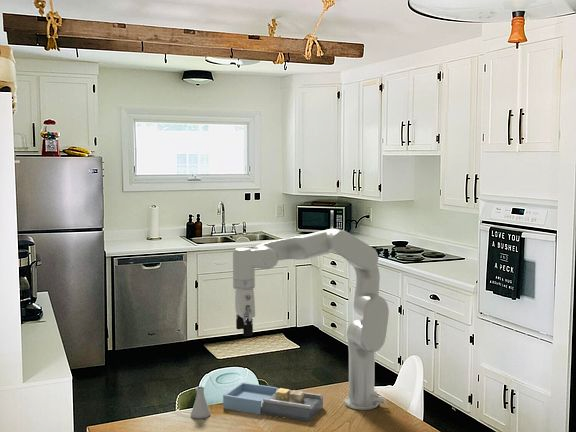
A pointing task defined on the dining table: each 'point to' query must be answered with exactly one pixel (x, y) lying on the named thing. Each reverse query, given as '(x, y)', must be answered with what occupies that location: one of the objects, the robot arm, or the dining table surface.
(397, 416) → the dining table surface
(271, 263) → the robot arm
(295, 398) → the beige square block
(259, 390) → the tray
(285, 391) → the olive yellow block
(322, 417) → the dining table surface
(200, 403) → the flask
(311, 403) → the slot block
